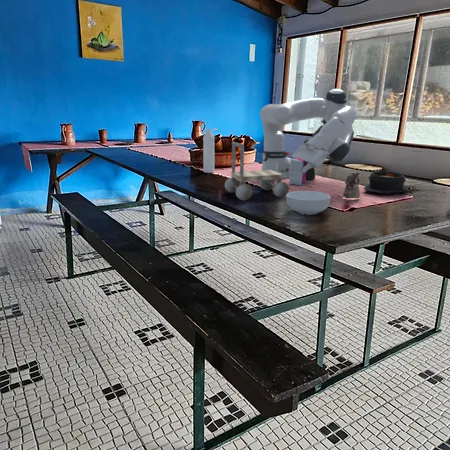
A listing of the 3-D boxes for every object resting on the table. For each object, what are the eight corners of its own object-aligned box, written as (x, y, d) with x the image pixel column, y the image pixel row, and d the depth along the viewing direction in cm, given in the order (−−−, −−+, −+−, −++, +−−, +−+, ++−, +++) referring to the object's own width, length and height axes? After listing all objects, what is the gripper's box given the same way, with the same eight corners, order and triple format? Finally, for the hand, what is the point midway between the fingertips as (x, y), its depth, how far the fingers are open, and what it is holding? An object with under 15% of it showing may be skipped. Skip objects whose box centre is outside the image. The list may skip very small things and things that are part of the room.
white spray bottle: (206, 173, 237) (206, 129, 230) (201, 171, 243) (201, 128, 235) (219, 172, 241) (219, 128, 234) (214, 170, 247) (214, 128, 239)
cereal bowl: (322, 206, 169) (324, 190, 167) (334, 218, 154) (336, 200, 151) (282, 206, 169) (283, 190, 167) (289, 218, 153) (290, 200, 151)
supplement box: (300, 186, 182) (302, 160, 178) (288, 184, 185) (289, 159, 181) (306, 184, 186) (307, 159, 183) (294, 182, 189) (295, 157, 186)
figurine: (340, 196, 186) (343, 170, 182) (356, 196, 186) (359, 170, 182) (344, 200, 179) (347, 173, 176) (360, 200, 179) (364, 173, 175)
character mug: (312, 177, 229) (313, 153, 225) (321, 179, 223) (323, 155, 219) (297, 178, 224) (298, 155, 220) (306, 181, 218) (307, 156, 214)
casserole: (381, 184, 211) (383, 168, 209) (416, 191, 198) (419, 174, 195) (353, 191, 196) (355, 174, 194) (389, 199, 182) (392, 180, 180)
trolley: (272, 189, 200) (274, 139, 192) (288, 196, 185) (291, 143, 178) (224, 192, 192) (224, 141, 184) (237, 201, 177) (238, 145, 170)
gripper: (334, 155, 175) (313, 179, 175) (309, 149, 194) (290, 170, 193) (326, 145, 173) (304, 169, 172) (301, 140, 191) (282, 161, 191)
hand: (296, 170), depth 183 cm, fingers closed on supplement box, 8 cm apart
